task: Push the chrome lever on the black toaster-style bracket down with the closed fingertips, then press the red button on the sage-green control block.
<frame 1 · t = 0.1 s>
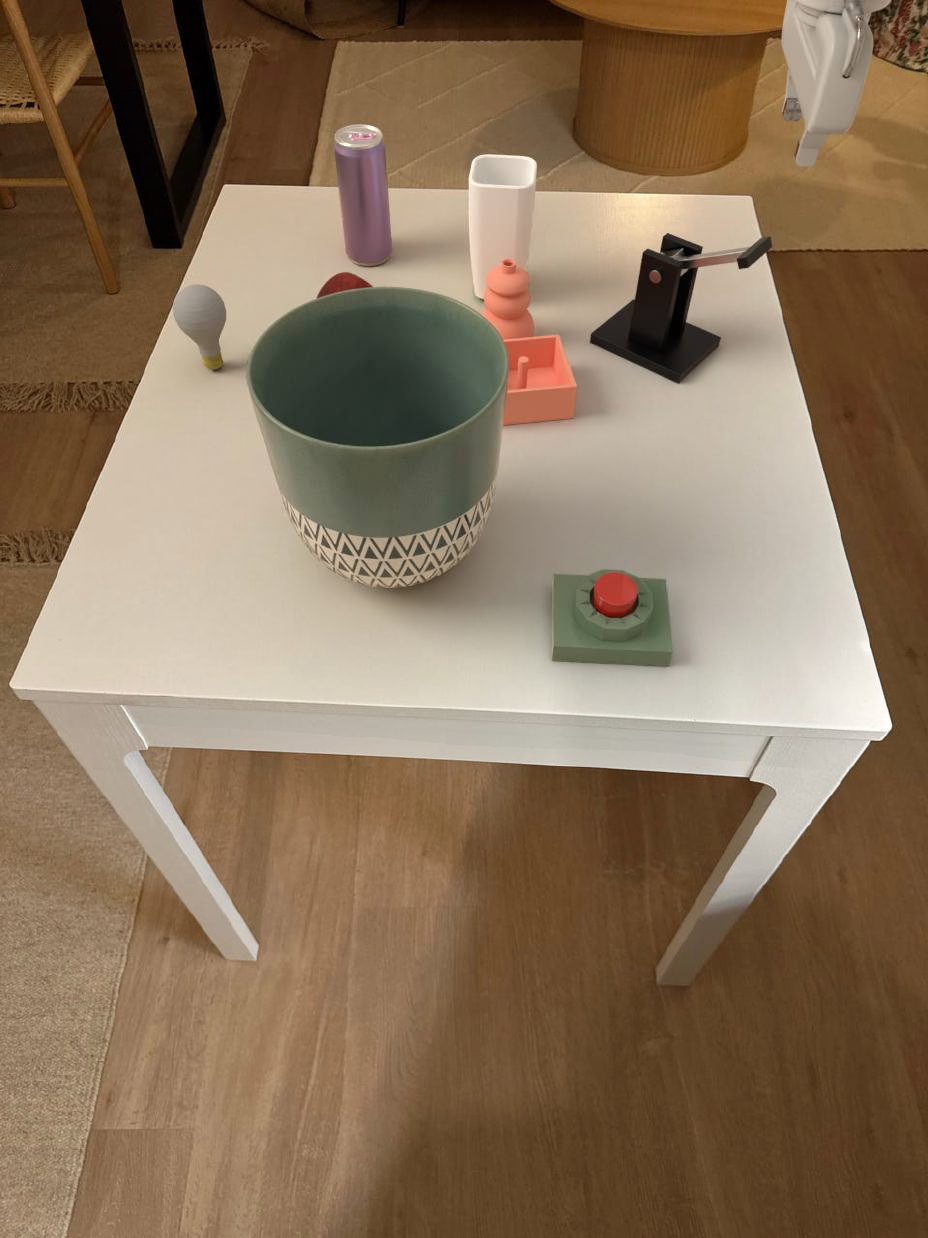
hand: (796, 139, 87), 22 cm above the table, tool pointing down, fingers open, 8 cm apart
control block: (608, 626, 79), on the table
lever: (707, 259, 93), point 12 cm above the table, hinge at 28.0°
pottery: (514, 371, 101), on the table
cup: (499, 292, 111), on the table
apple: (351, 340, 105), on the table
planter: (395, 551, 85), on the table
beverage can: (369, 256, 116), on the table
bracket: (654, 343, 104), on the table
light bulb: (215, 369, 102), on the table
button: (614, 594, 76), point 4 cm above the table, slide at 0.1 cm
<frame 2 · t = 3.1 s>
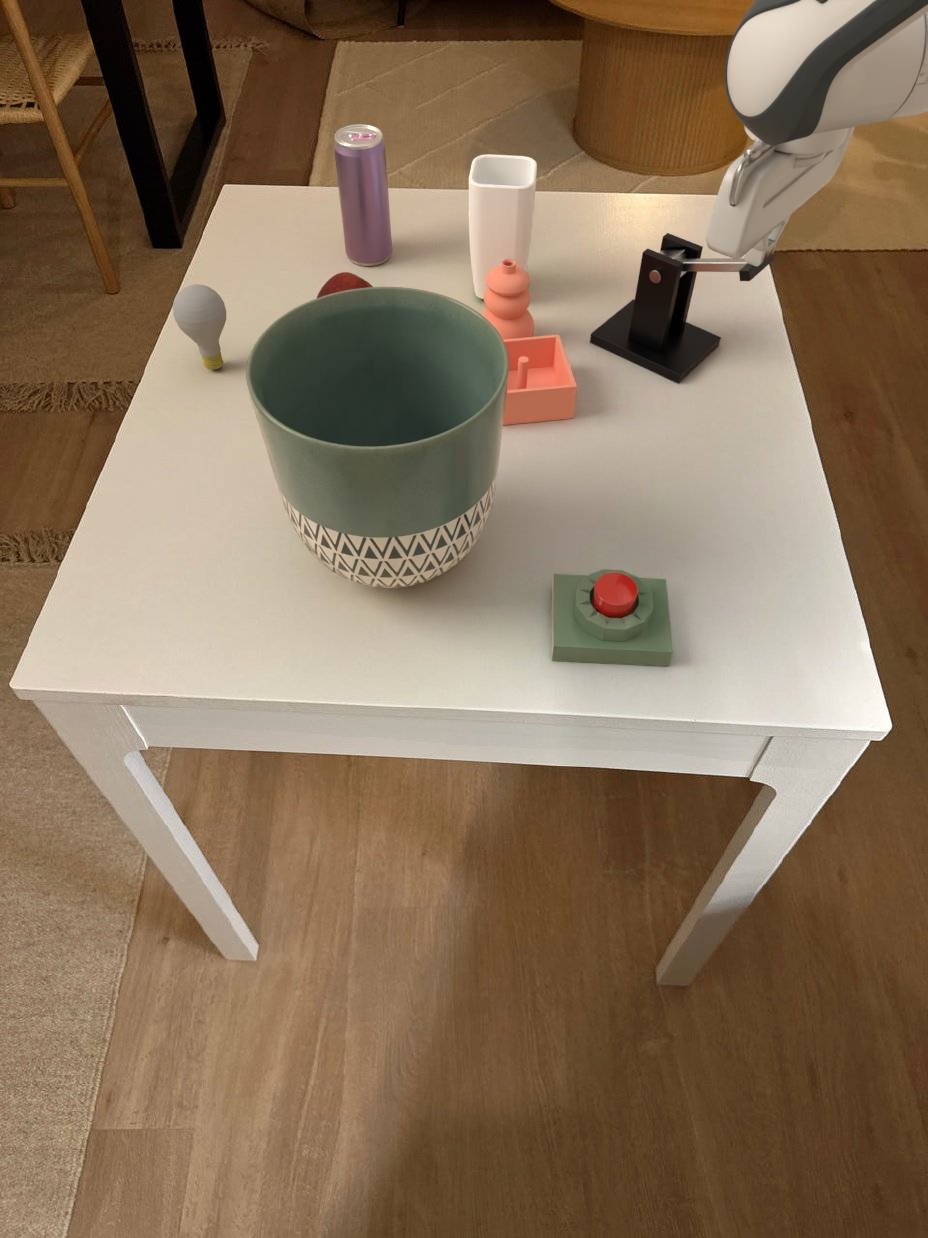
hand: (758, 258, 89), 14 cm above the table, tool pointing down, fingers closed, pressing on lever
lever: (707, 264, 93), point 12 cm above the table, hinge at 20.7°, touching gripper
everything else where it was.
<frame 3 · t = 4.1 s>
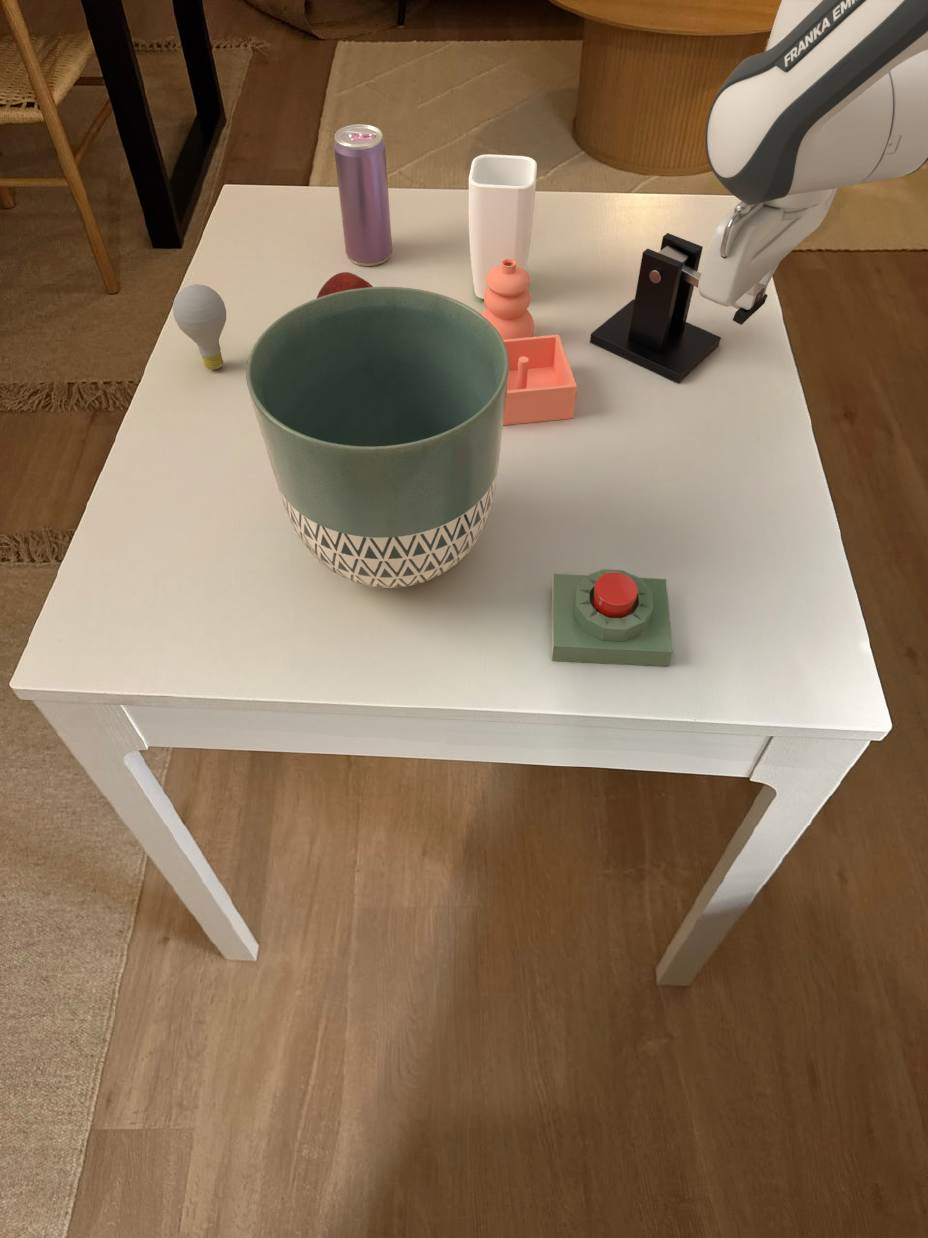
hand: (749, 301, 93), 10 cm above the table, tool pointing down, fingers closed, pressing on lever
lever: (705, 284, 95), point 10 cm above the table, hinge at -6.0°, touching gripper
everything else where it was.
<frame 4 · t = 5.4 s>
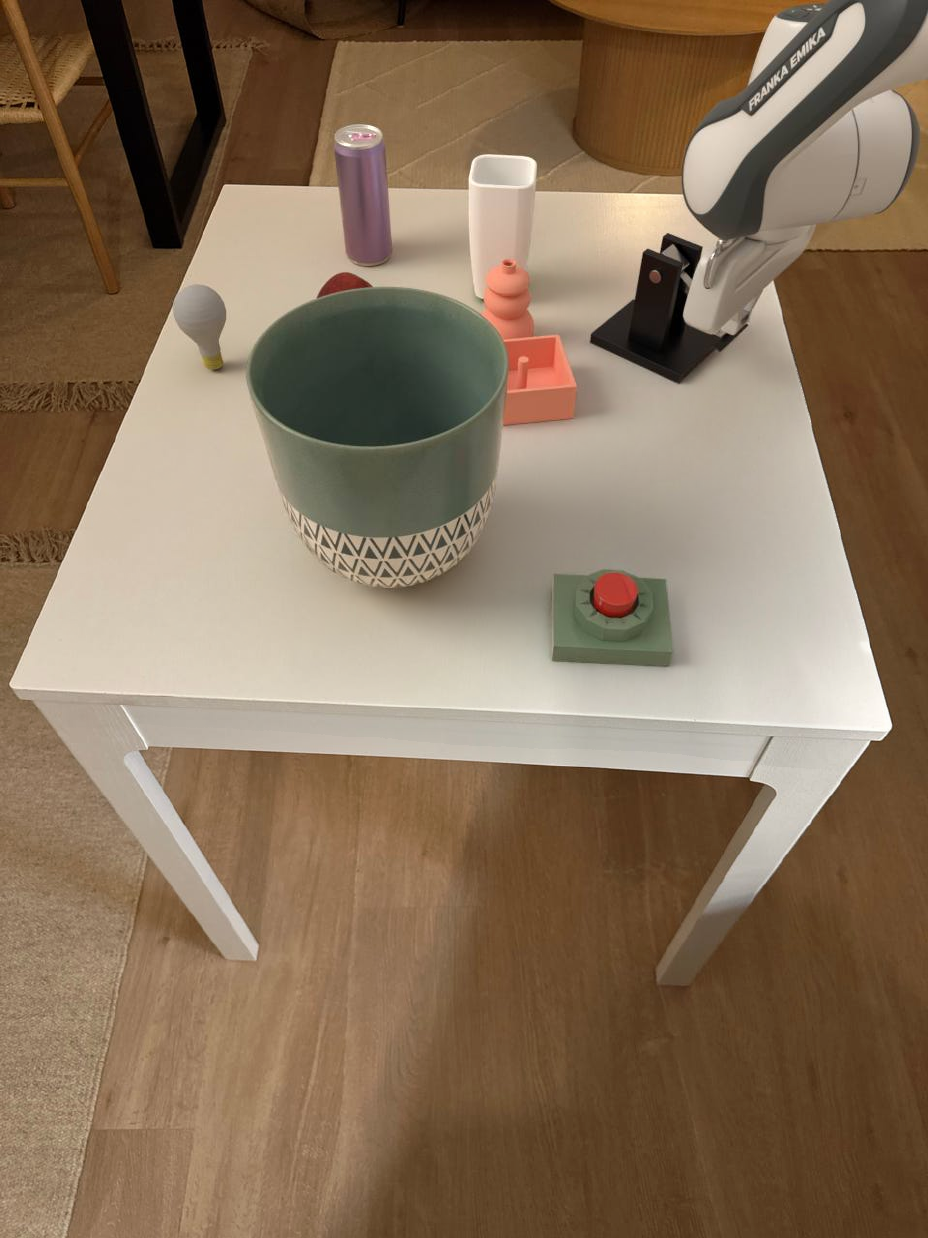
hand: (734, 327, 96), 6 cm above the table, tool pointing down, fingers closed, pressing on lever
lever: (697, 296, 97), point 8 cm above the table, hinge at -29.3°, touching gripper
everything else where it was.
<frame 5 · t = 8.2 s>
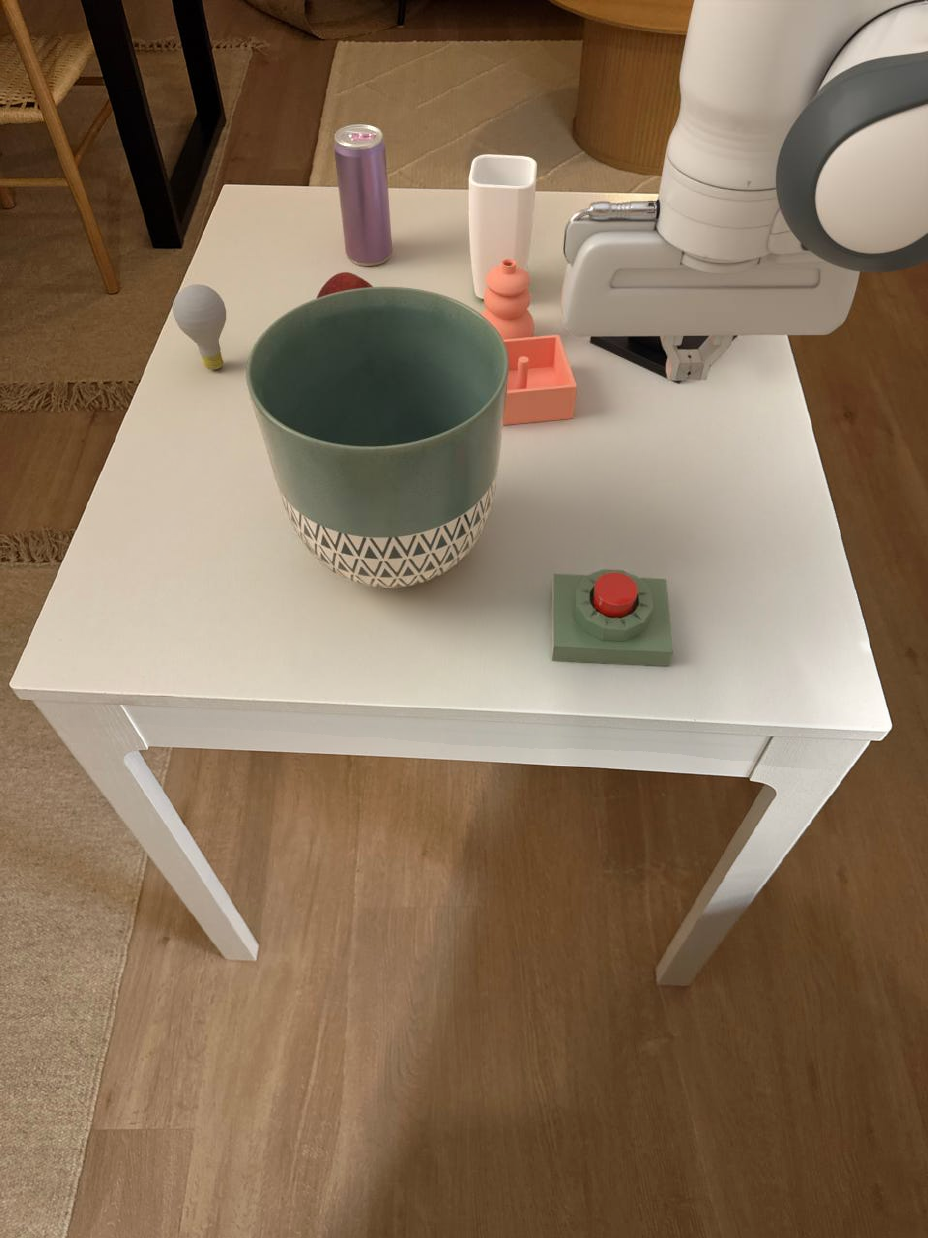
hand: (685, 375, 70), 20 cm above the table, tool pointing down, fingers closed
lever: (697, 296, 97), point 8 cm above the table, hinge at -29.3°
everything else where it was.
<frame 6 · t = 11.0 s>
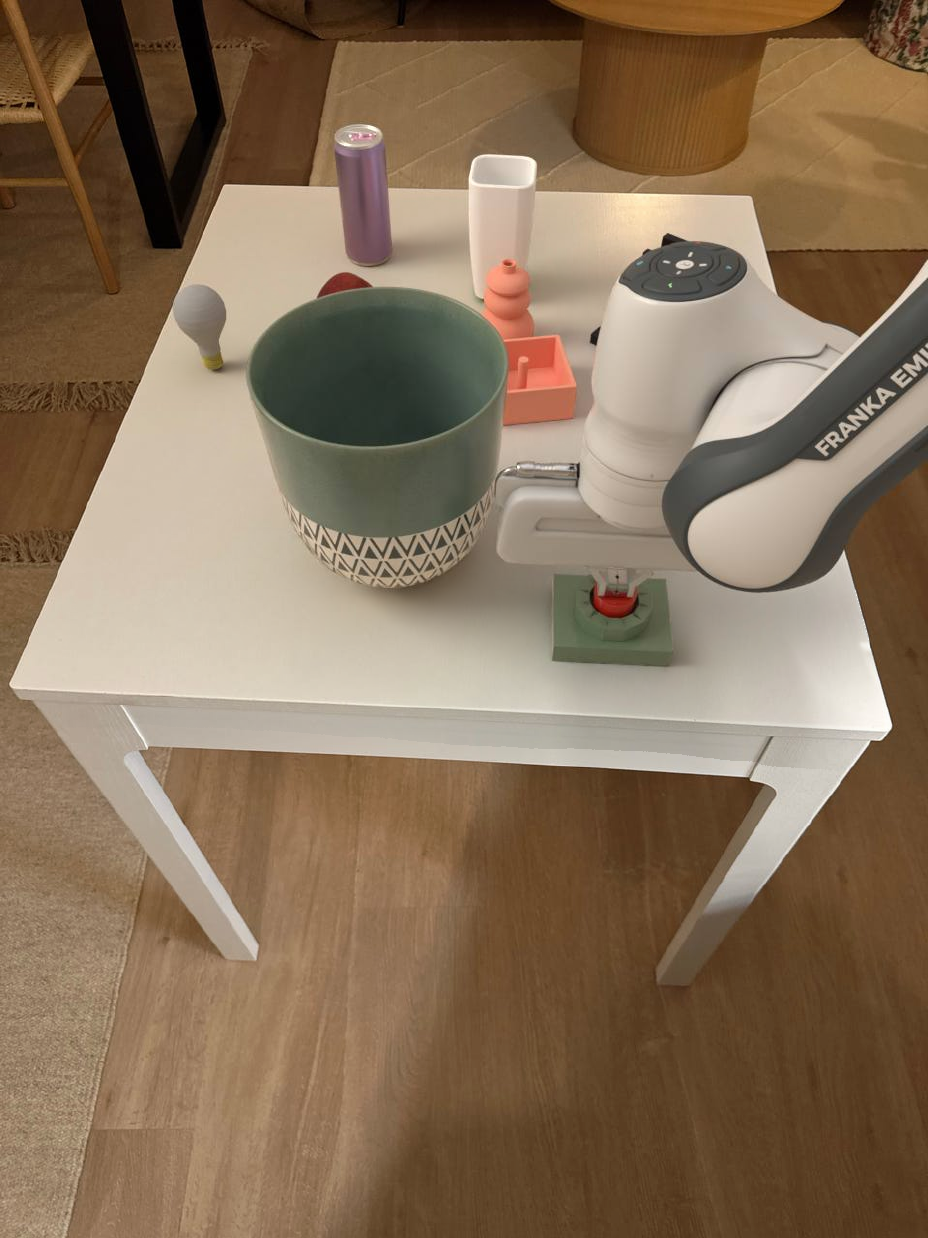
hand: (614, 590, 75), 5 cm above the table, tool pointing down, fingers closed, pressing on button
button: (614, 596, 76), point 4 cm above the table, slide at -0.1 cm, touching gripper
everything else where it was.
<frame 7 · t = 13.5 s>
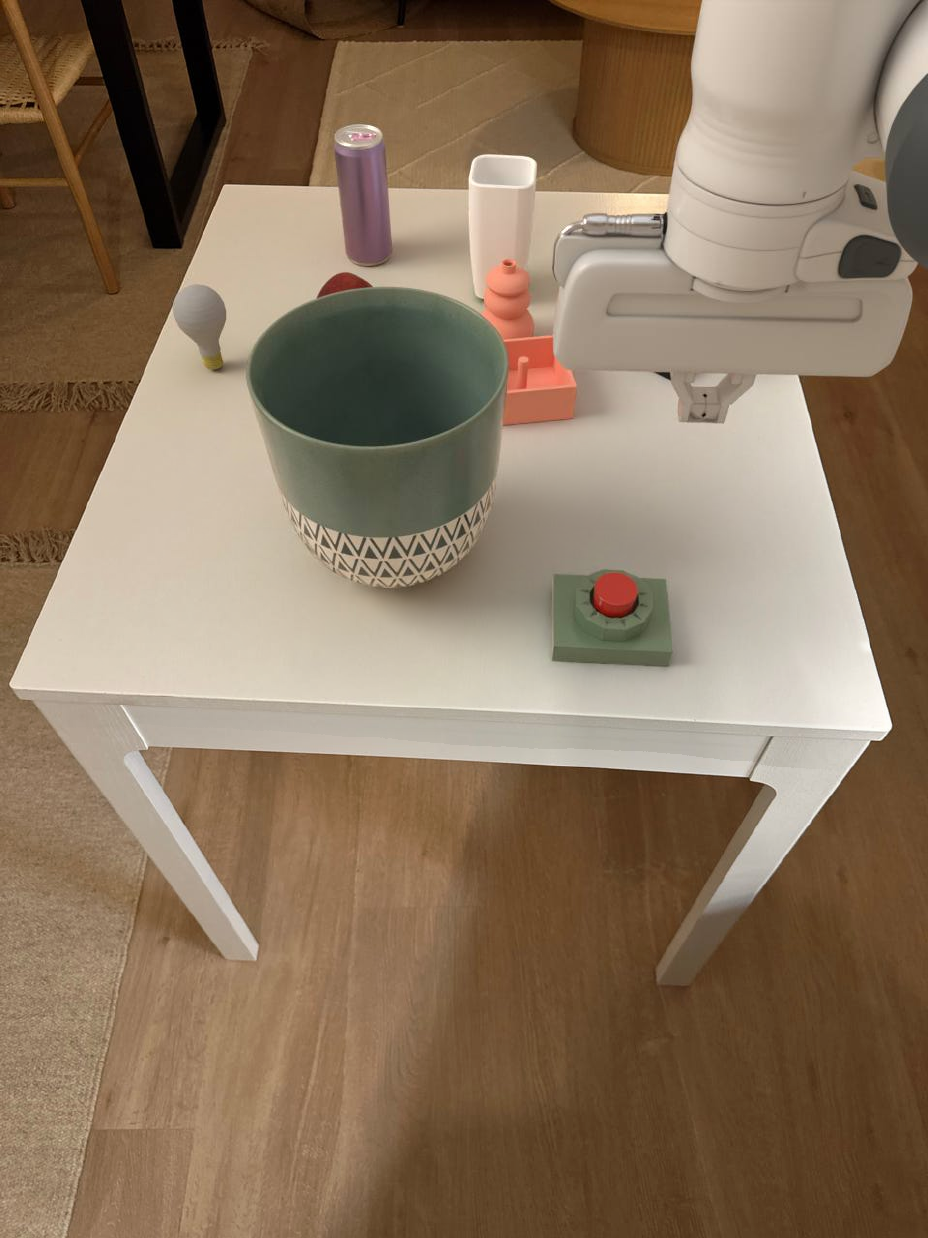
hand: (699, 417, 59), 24 cm above the table, tool pointing down, fingers closed
button: (614, 594, 76), point 4 cm above the table, slide at 0.1 cm
everything else where it was.
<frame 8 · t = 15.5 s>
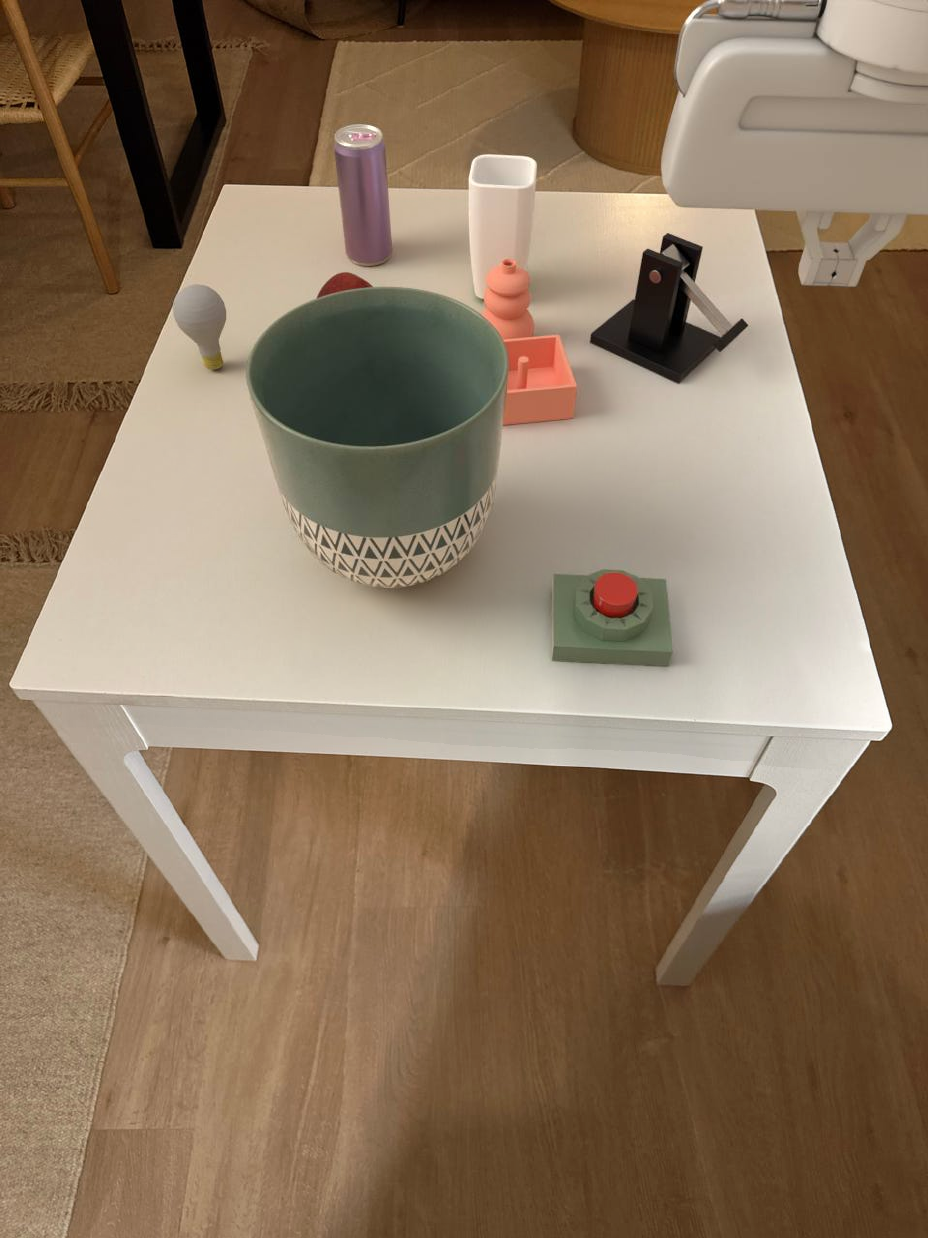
hand: (825, 280, 50), 35 cm above the table, tool pointing down, fingers closed
nothing on the table moved.
at the end: lever at -29° (first picture: +28°); button pushed in 1.1 cm at the most during the clip, back to where it started at the end; button slide at 0.1 cm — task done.
